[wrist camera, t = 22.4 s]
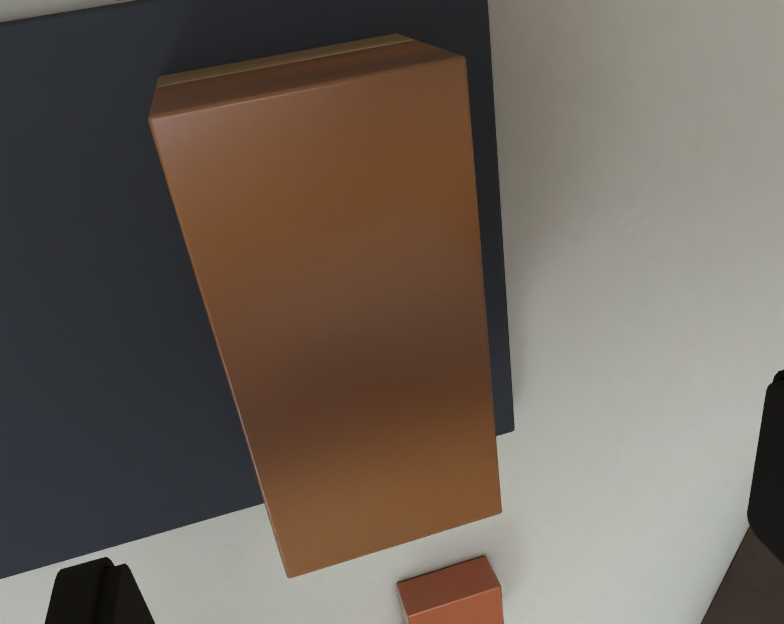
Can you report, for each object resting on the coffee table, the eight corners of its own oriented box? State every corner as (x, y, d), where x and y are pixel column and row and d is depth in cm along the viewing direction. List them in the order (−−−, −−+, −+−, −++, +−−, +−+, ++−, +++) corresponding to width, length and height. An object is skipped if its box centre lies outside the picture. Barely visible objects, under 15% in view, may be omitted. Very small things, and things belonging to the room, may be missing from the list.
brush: (156, 76, 15) (146, 116, 11) (398, 32, 16) (466, 55, 12) (268, 462, 20) (287, 580, 16) (445, 412, 21) (502, 513, 17)
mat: (472, -55, 16) (485, -56, 16) (505, 417, 23) (515, 431, 22) (-288, 69, 14) (-314, 74, 13) (1, 560, 20) (-6, 582, 20)
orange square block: (485, 554, 26) (501, 585, 24) (491, 616, 27) (506, 648, 26) (396, 582, 25) (407, 616, 24) (407, 643, 27) (418, 678, 26)
